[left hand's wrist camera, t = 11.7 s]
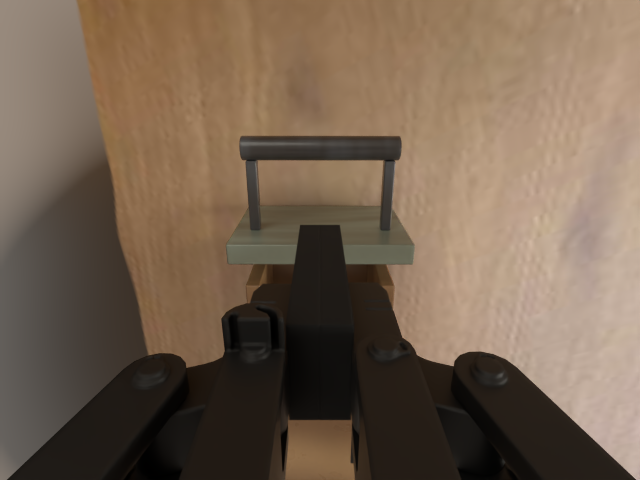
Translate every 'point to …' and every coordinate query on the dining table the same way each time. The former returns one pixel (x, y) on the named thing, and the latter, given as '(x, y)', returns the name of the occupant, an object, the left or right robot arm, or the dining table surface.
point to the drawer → (320, 214)
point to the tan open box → (319, 450)
